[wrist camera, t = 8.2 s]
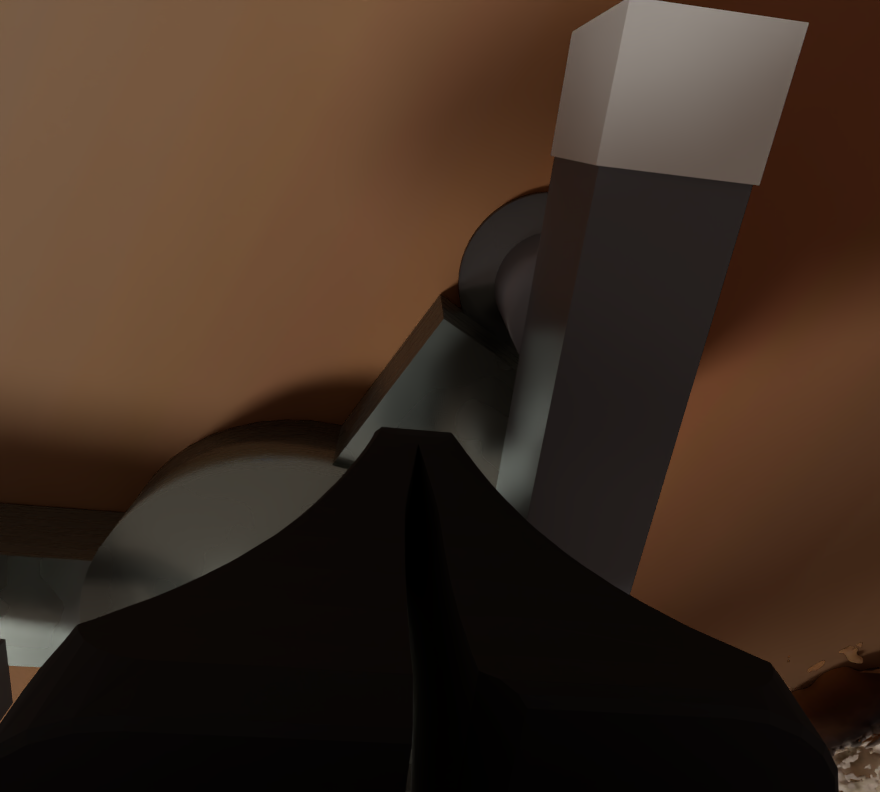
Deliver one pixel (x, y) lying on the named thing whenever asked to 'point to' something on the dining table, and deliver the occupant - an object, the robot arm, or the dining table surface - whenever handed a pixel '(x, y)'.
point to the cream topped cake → (847, 720)
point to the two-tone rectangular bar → (632, 261)
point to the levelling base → (266, 468)
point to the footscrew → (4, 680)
